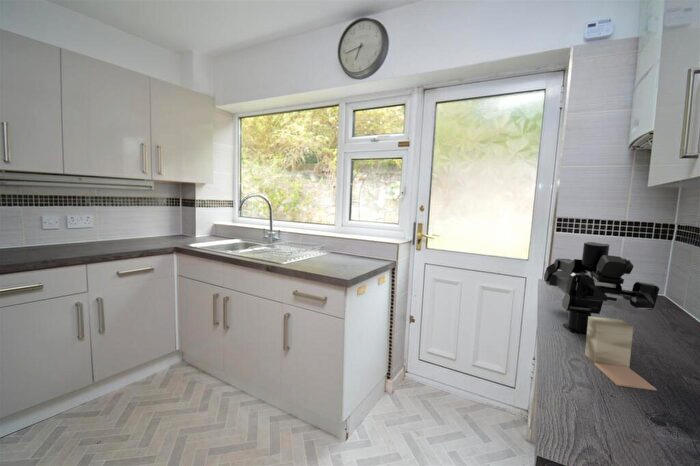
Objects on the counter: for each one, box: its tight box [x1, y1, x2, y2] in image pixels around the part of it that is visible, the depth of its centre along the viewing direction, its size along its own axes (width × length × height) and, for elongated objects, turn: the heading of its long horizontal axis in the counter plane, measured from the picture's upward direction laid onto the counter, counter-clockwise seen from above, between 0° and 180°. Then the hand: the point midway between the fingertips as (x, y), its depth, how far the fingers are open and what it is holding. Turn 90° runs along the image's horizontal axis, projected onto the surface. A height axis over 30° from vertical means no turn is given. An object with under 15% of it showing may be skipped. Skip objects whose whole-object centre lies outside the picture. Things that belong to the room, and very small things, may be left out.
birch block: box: [584, 315, 634, 368], centre depth 78 cm, size 5×7×10 cm
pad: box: [593, 362, 658, 392], centre depth 71 cm, size 10×7×1 cm
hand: (629, 302), depth 74 cm, fingers open, 9 cm apart
